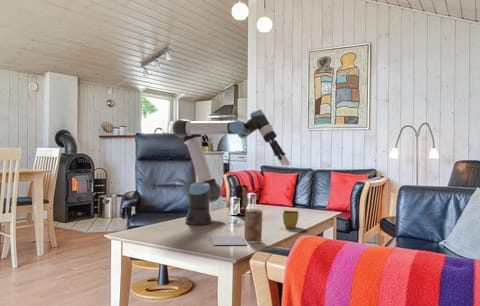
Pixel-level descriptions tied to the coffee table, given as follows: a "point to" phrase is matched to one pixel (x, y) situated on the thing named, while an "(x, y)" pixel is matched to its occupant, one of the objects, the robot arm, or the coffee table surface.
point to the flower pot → (290, 218)
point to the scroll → (243, 192)
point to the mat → (228, 240)
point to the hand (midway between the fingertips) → (286, 165)
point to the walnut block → (253, 225)
